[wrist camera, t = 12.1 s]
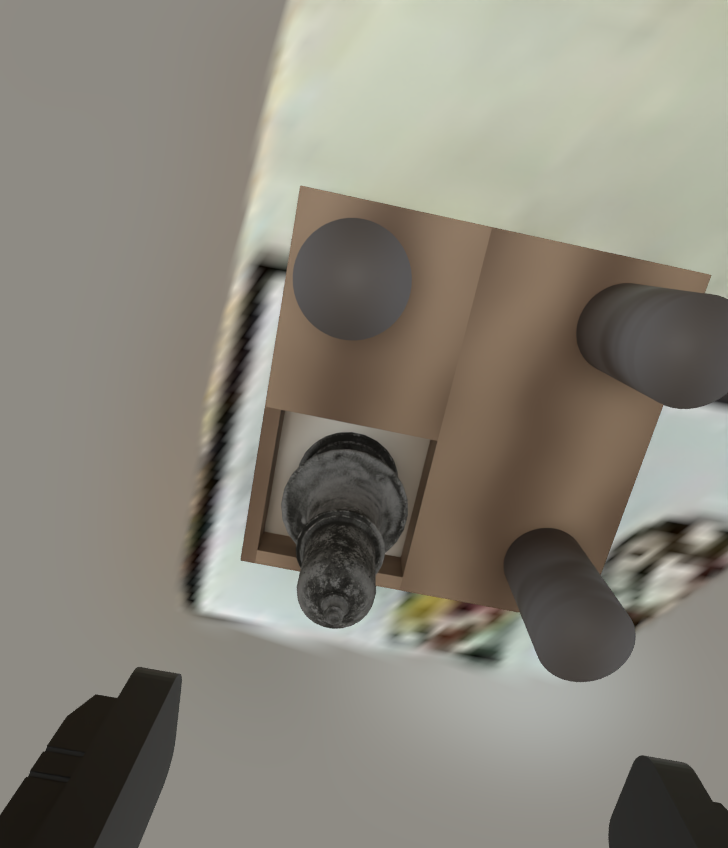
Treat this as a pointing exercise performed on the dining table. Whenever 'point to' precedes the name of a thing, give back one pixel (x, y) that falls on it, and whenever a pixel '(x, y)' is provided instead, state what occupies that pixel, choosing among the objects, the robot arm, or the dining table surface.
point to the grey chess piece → (342, 524)
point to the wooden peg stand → (485, 404)
